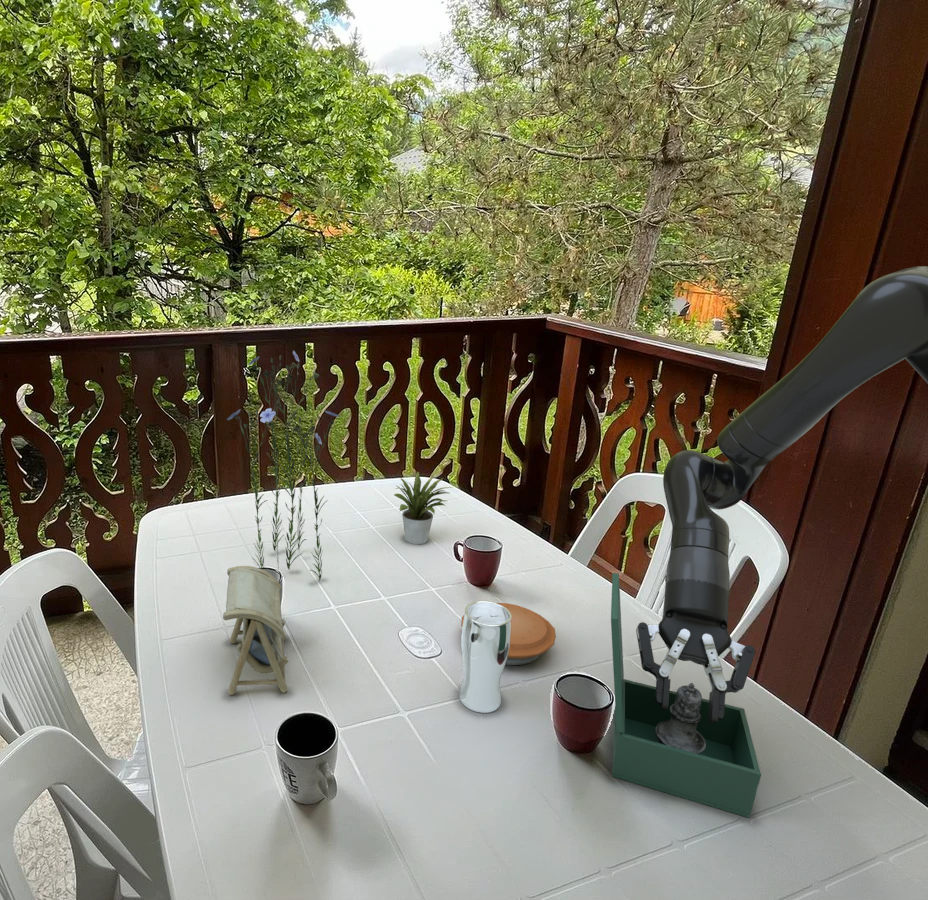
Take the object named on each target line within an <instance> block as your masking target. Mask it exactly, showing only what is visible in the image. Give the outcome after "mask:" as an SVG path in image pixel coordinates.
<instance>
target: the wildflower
mask: <svg viewBox="0 0 928 900" xmlns="http://www.w3.org/2000/svg"><path fill="white" fill-rule="evenodd" d="M292 355H293V356H294V359H295V361H296V362H298V363H297V364H296V363H295V362H291V363H290V364H288V365H285V370H286V371H287V374H284V376H283V375H282V377H281V378H280V371H281V366H282V363H279V366H278V365H277V367H276V365H274V364H273V363H274V358H273V357H270V363H271V369H272V370H270V371H268V370H267V369H265V371H263V369H262V367H261V366H260V364H259V363H257V365H258V366H257V365H256V363H255V362H258V360H259V358H260V356H256V358H253V359H252V360H250V362H248V366H251V369H253V370H255V371H256V372H257V374H258V376H259V379H260V383H261V385H262V387H263V389H264V393H265V395H264V399H265V401H266V403H268V404H269V406H271V402H272V404H273V407H272V408H271V407H269V408H266V409H265V410H264V411H261V413H260V415H259V414H258V410H256V411H255V416H256V417H255V418H256V421H255V420H253V419H251V418H249V422H250V424H251V425H249V424H246V423H244V424H243V425H241V424H242V420H241V418H240V415H239V416H238V414H240V413H241V411H242V409H237V411H235V412H233V413H231V415H229V416H228V417H227V418H226V420H227V421H230V420H232V419H233V418H234V419H236V420H237V421H239V423H238V425H239V426H240V430H241V434H242V435H243V438H244V441H245V444H244V446H245V449H246V451H247V452H248V453H249V457H250V458H252V454H251V450H250V449H249V448H251V442H252V443H253V447H256V443H257V439H258V437H259V434H260V432H258V433H257V434H256V436H252V437H251V435H252V430H251V429H253V431H255V429H254V428H253V427H254V426H255V427H257V425H258V423H254V422H258V420H259V419H258V415H259V417H260V422H261V423H263V424H264V426H265V428H264V432H263V429H262V428H261V436H262V438H261V442H260V444H259V446H258V449H257V452H255V455H254V457H253V461H252V459H250V462H251V465H252V466H251V467H254V466H255V464H256V462H257V460H258V459H259V458H260V456H259V455H260V453H261V451H260V448H261V446H262V445H263V443H264V442H265V441H266V439H264V438H265V437H266V436H267V432H268V431H269V428H270V430H271V436H272V437H271V438H272V448H273V450H272V449H271V448H269V450H270V453H271V456H272V457H271V456H270V454H269V453H268V452H265V453H266V455H267V456H268V458H269V461H270V463H271V464H272V466H273V467H272V466H271V465H268V467H269V468H270V469H271V470H272V472H273V473H274V476H275V477H274V476H273V474H272V473H270V472H267V471H265V474H268V475H270V476H271V478H273V479H274V481H275V493H274V490H273V488H272V487H271V492H272V494H273V495H274V496H275V502H274V501H273V504H274V507H275V510H274V512H273V513H274V516H272V520H271V521H270V522H271V524H272V529H273V530H272V531H271V532H272V549H273V551H274V552H276V553H279V542H280V541H281V540H282V538H283V537H285V534H282V535H281V537H280V538H279V535H280V533H281V532H282V529H281V530H279V529H280V526H281V525H282V522H283V519H280V517H281V514H282V512H280V513H279V515H278V512H279V508H278V505H279V496H280V492H281V489H279V487H281V488H283V490H285V491H286V492H287V493H288V495H289V496H290V497H291V498H290V499H291V507H290V508H289V507H288V504H287V502H285V507H286V508H287V510H288V511H289V512H290V513H291V519H290V518H289V517H287V520H288V521H289V522H288V532H289V533H288V532H286V538H284V540H285V542H286V546H287V547H285V555H286V558H285V561H286V568H287V569H288V570H290V567H291V565H292V564H293V563H294V561H295V560H296V559H297V558H298V557H300V556H301V555H303V553H302V552H301V553H299V554H298V555H296V556H295V557H294V558H293V556H294V554H295V552H296V551H298V550H300V548H301V546H302V544H303V543H304V542H305V541H306V540H307V538H304V539H302V536H303V534H304V533H305V531H302V530H303V528H304V524H305V521H306V518H304V519H303V516H304V512H302V498H301V497H299V495H300V496H302V493H303V490H304V488H303V487H304V484H306V483H307V481H308V479H309V477H308V475H309V474H308V473H309V472H310V471H311V473H312V477H311V478H310V481H311V482H310V483H311V484H312V486H313V494H314V495H313V498H314V506H315V507H314V514H315V519H316V523H315V524H314V526H313V528H314V529H315V532H316V533H315V534H316V548H317V549H316V548H315V547H313V549H314V553H315V554H314V553H313V552H312V551H310V554H311V555H312V557H313V560H314V561H315V562H316V563H312V565H313V566H314V567H315V568H316V570H317V572H318V573H317V572H316V570H313V569H310V572H311V571H312V572H313V573H315V574H316V575H317V577H318V579H319V582H321V579H322V574H323V573H322V572H323V569H322V567H323V566H322V565H323V560H322V555H323V549H322V546H321V541H320V535H321V533H319V532H318V529H319V528H320V526H321V524H318V515H319V513H320V511H321V509H322V508H323V506H324V505H325V504H326V503H327V502H328V501H329V500H328V499H327V500H325V502H323V503H322V500H323V499H324V497H325V494H324V495H323V496H322V498H321V499H320V500H319V497H318V496H317V493H318V489H319V487H317V488H316V485H315V484H316V482H317V481H318V479H319V477H317V478H315V476H314V475H315V474H314V473H315V471H316V469H317V468H318V466H319V463H320V462H321V458H322V455H321V452H322V449H324V448H325V445H326V443H327V442H328V441H329V439H327V438H328V436H329V435H330V431H331V428H332V427H333V425H334V423H335V420H334V419H332V418H333V417H338V418H340V415H339V414H337V413H335V412H332V411H330V410H329V411H328V410H325V409H324V410H323V412H325V413H326V414H328V415H330V416H331V417H330V419H331V420H330V421H329V423H328V424H327V430H326V433H325V431H323V438H324V440H323V442H322V439H321V436H322V435H319V433H318V432H319V431H320V428H316V427H318V426H320V425H321V422H318V424H316V426H315V425H313V420H314V419H310V420H309V422H310V424H311V426H308V427H307V432H305V433H303V429H302V428H301V427H302V426H301V422H302V418H301V417H299V418H298V422H299V425H296V422H294V423H293V425H294V427H293V428H292V434H291V435H290V434H289V433H288V431H289V430H288V428H289V426H290V425H291V424H292V422H293V421H296V417H297V413H298V412H299V411H300V408H299V409H298V407H299V405H300V403H301V402H303V401H304V400H305V398H306V397H308V396H310V394H306V393H307V392H308V391H309V390H310V388H311V387H312V385H313V383H314V381H315V380H316V379H317V378H319V377H320V375H319V374H318V373H317V372H313V374H312V375H311V377H309V378H308V379H309V382H308V383H307V386H305V383H304V382H303V383H302V384H303V395H302V397H301V399H300V401H299V403H298V404H297V406H296V408H295V410H294V411H291V412H290V417H289V420H288V423H287V422H286V414H285V412H286V409H285V408H286V407H285V406H286V401H287V400H288V398H289V401H290V404H291V409H293V406H294V402H295V397H296V395H297V393H298V391H299V390H300V387H298V388H297V381H298V379H299V375H300V373H299V369H300V358H299V356H298V354H297V353H296V351H295V350H292ZM278 357H279V358H278V359H279V361H281V360H282V354H280V355H279V356H278ZM295 368H296V369H297V370H296V375H295V374H293V375H292V373H293V370H294V369H295ZM258 371H259V372H258ZM262 371H263V372H262ZM276 373H277V374H276ZM262 374H263V376H264V377H265V378H266V383H267V385H269V381H270V388H269V386H267V390H268V391H269V392H268V393H270V395H269V397H268V394H267V390H266V387H265V380H264V378H263V376H262ZM277 376H278V377H277ZM283 377H284V379H283ZM293 377H294V378H293ZM296 377H297V378H296ZM268 379H269V380H268ZM282 379H283V380H282ZM292 379H294V382H295V383H294V384H295V386H294V387H295V388H294V390H293V389H292V390H291V391H292V394H293V399H292V398H291V393H288V390H286V391H285V396H284V394H283V391H284V390H285V389H288V386H289V384H290V385H291V386H293V383H292ZM312 379H313V380H312ZM311 381H312V382H311ZM310 383H311V384H310ZM283 384H284V386H283V388H282V385H283ZM309 385H310V386H309ZM279 386H280V388H279ZM296 388H297V390H296ZM280 390H281V392H280ZM272 391H273V392H272ZM279 392H280V395H279ZM287 394H288V395H287ZM271 395H272V397H275V396H276V398H272V400H271ZM281 399H282V400H283V408H282V404H281ZM278 409H279V410H280V412H281V413H282V414H283V418H284V423H285V427H286V432H283V433H284V434H283V437H284V439H285V441H286V450H287V451H286V452H287V454H286V458H287V461H288V464H287V462H286V461H285V460H283V462H284V465H285V468H286V470H285V468H284V467H283V466H282V465H281V464H280V463H279V456H280V454H279V447H278V446H277V431H275V434H274V428H275V430H277V428H278V427H277V424H278V420H279V416H278V415H279V413H278V412H279V410H278ZM247 413H248V417H251V415H252V413H251V412H250V411H248V412H247ZM320 419H321V415H320V416H317V420H318V421H320ZM243 427H244V428H245V429H244V428H243ZM248 427H249V435H248V434H246V435H245V431H246V432H248V430H247V428H248ZM315 430H317V432H315ZM295 432H296V434H297V435H298V437H299V438H300V439H299V441H300V444H301V445H302V446H303V448H304V450H303V448H301V445H298V442H299V441H294V443H295V446H296V448H299V450H296V452H297V453H296V454H297V455H299V453H301V454H303V452H304V453H305V454H304V455H303V461H302V462H301V469H303V467H304V465H305V464H306V460H307V461H308V462H309V463H310V465H309V468H308V471H307V474H306V475H305V478H304V480H303V483H302V484H301V485H299V480H298V479H296V477H295V475H294V474H295V471H296V469H297V473H298V475H299V478H300V479H303V474H301V471H300V470H301V469H299V467H298V466H299V463H297V465H298V466H297V465H296V464H295V461H294V460H293V461H292V458H293V455H292V450H291V449H292V447H293V444H292V445H291V446H290V447H289V440H290V438H292V437H293V436H294V433H295ZM313 435H314V437H315V439H316V440H315V441H316V445H315V444H313ZM246 436H247V438H249V437H251V438H250V439H246ZM310 436H311V437H310ZM254 438H255V440H254ZM309 438H311V441H310V445H309ZM293 439H294V440H296V437H293ZM305 439H306V440H305ZM246 440H248V442H247V441H246ZM248 444H249V445H248ZM320 445H321V446H322V447H321V446H320ZM310 446H311V447H310ZM307 448H309V454H308V451H307ZM313 448H314V453H313V455H312V450H313ZM318 452H319V454H318ZM317 454H318V457H317ZM315 460H316V461H315ZM291 462H292V463H291ZM313 462H314V465H312V464H313ZM280 467H281V469H282V471H283V474H284V475H285V477H286V478H287V480H288V481H287V480H286V479H284V478H281V479H282V481H284V482H285V483H286V485H287V486H288V488H289V491H290V492H289V491H288V489H287V488H286V487H284V486H283V485H281V484H279V480H280V474H279V471H280ZM313 467H314V468H313ZM255 473H256V474H255ZM258 473H259V468H257V470H256V472H255V471H254V470H253V469H251V470H250V474H251V477H252V479H253V486H254V495H255V496H254V497H255V500H254V501H255V508H256V515H255V521H256V524H257V525H256V526H257V538H255V541H256V543H255V542H253V544H254V547H255V550H256V552H257V554H256V553H254V555H255V556H256V558H257V561H258V562H259V563H258V562H257V561H256V558H255V559H254V558H253V560H254V561H255V563H256V564H257V566H258V568H260V569H261V568H262V569H263V568H264V569H265V566H264V563H265V556H264V550H265V548H264V541H262V533H261V531H262V528H259V527H260V526H259V525H260V522H261V521H262V520H263V516H261V518H259V510H260V507H261V506H262V505H263V504H264V503H265V502H268V501H269V500H268V499H267V500H264V501H262V502H261V503H260V501H261V499H262V497H263V496H264V495H265V493H263V494H261V495H260V496H259V491H258V489H257V485H258V482H256V480H255V479H256V476H257V475H258ZM319 474H320V473H319V472H318V473H317V475H319ZM296 481H297V485H298V489H299V492H300V494H299V495H297V496H298V501H299V502H298V512H297V518H296V519H297V521H298V522H297V526H296V528H297V530H295V532H294V534H293V530H294V514H295V512H296V510H297V508H296V507H297V505H294V499H295V496H296V495H295V494H296V489H295V486H296ZM258 497H259V498H258ZM320 504H322V505H321V506H320ZM319 507H320V508H319ZM302 521H303V522H302ZM322 521H323V518H321V519H320V523H322ZM318 533H319V534H318ZM296 534H297V538H296ZM295 538H296V539H295ZM257 539H258V540H257ZM301 539H302V541H301ZM296 544H297V548H296V549H294V548H295V546H296ZM262 549H263V550H262ZM293 549H294V550H293ZM315 555H316V556H315ZM275 558H276V561H277V562H276V563H279V554H277V557H275ZM292 558H293V560H292ZM291 560H292V561H291ZM316 564H317V565H316ZM279 566H280V565H277V569H279V568H280V567H279Z"/></svg>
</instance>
